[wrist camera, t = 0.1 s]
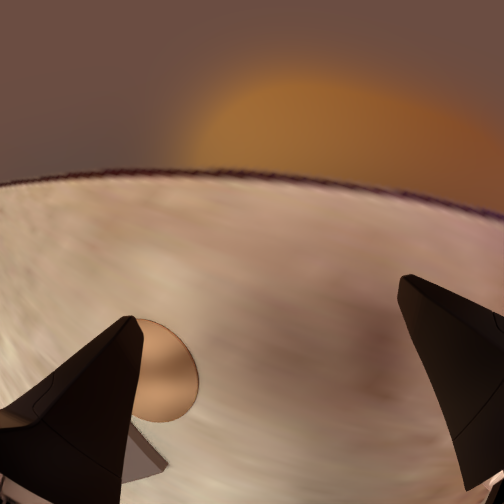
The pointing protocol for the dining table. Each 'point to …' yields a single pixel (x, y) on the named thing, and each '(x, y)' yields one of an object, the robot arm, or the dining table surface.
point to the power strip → (140, 458)
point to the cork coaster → (164, 376)
